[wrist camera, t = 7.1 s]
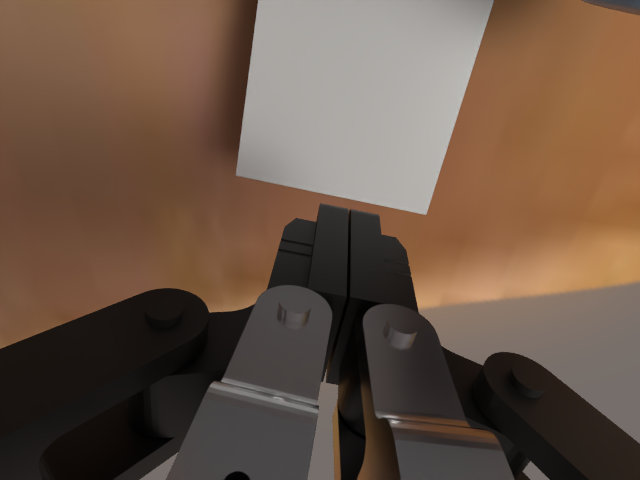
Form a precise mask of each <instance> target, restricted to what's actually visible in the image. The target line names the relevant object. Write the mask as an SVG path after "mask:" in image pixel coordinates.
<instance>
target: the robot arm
mask: <svg viewBox="0 0 640 480" xmlns="http://www.w3.org/2000/svg"><path fill="white" fill-rule="evenodd" d="M348 212H349V214H348ZM408 264H409V262H408V257H407V252H406V249H405V248H404V247H403V246H402V245H401V243H400V242H399V241H398V240H397V238H396V237H390V236H385V235H381V227H380V218H379V215H377V214H372V213H367V212H362V211H357V210H352V209H350V211H349V210H348V209H347V208H342V207H336V206H331V205H326V204H321V203H320V206H319V211H318V216H317V221H316V222H313V221H308V220H303V219H298V218H296V219H294V220H293V221H292V222H290V223H289V224H288V225H286V226H285V228H284V231H283V235H282V238H281V242H280V245H279V249H278V252H277V256H276V259H275V263H274V267H273V270H272V274H271V277H270V281H269V284H268V288H267V290H266V291H265V292H263V293H262V294H261V295H260V296H259V297H258V299H257V301H256V303H255V304H254V305H252V306H250V307H248V308H245V309H242V310H237V311H230V312H212V313H209V311H208V308H207V306H206V304H205V303H204V302H203V301H202V299H200V298H199V297H198V296H196V295H194V294H192V293H190V292H188V291H184V290H180V289H173V288H163V289H155V290H150V291H147V292H144V293H141V294H139V295H136V296H133V297H131V298H128V299H126V300H123V301H121V302H118V303H116V304H113V305H111V306H108V307H105V308H103V309H100V310H98V311H95V312H93V313H90V314H88V315H85V316H83V317H80V318H78V319H75V320H72V321H70V322H67V323H65V324H62V325H60V326H57V327H55V328H52V329H50V330H47V331H44V332H42V333H39V334H37V335H34V336H32V337H29V338H27V339H24V340H22V341H19V342H17V343H14V344H11V345H9V346H6V347H4V348H1V349H0V480H139V479H141V478H142V477H143V476H145V475H146V474H148V473H149V472H151V471H152V470H153V469H155V468H156V467H157V466H159V465H160V464H162V463H163V462H165V461H166V460H167V459H169V458H170V457H172V456H173V455H175V454H176V453H177V452H178V454H177V457H176V459H175V461H174V463H173V465H172V468H171V470H170V472H169V474H168V476H167V478H166V480H307V478H308V472H309V466H310V460H311V455H312V448H313V442H314V437H315V431H316V424H317V418H318V411H319V406H318V405H317V402H318V396H319V390H320V384H321V382H323V380H324V376H325V372H326V369H327V374H326V383H331V384H336V385H338V386H339V387H338V400H337V403H336V406H335V409H334V412H333V419H332V423H333V452H334V480H530V479H529V478H528V477H527V476H526V475H525V474H524V473H523V472H522V471H523V470H524V468H525V467H526V466H527V465H528V463H529V462H530V461H532V463H534V464H535V466H537V467H538V468H539V469H540V470H541V471H542V472H543V473H544V474H545V475H546V476H547V477H548V478H549V479H550V480H640V444H639V443H638V442H637V441H636V440H634V439H633V438H632V437H631V436H629V435H628V434H627V433H626V432H624V431H623V430H622V429H621V428H619V427H618V426H617V425H616V424H614V423H613V422H612V421H611V420H609V419H608V418H607V417H606V416H604V415H603V414H602V413H601V412H599V411H598V410H597V409H595V408H594V407H593V406H592V405H591V404H589V403H588V402H587V401H586V400H584V399H583V398H582V397H581V396H579V395H578V394H577V393H575V392H574V391H573V390H572V389H570V388H569V387H568V386H567V385H566V384H564V383H563V382H562V381H561V380H559V379H558V378H557V377H556V376H554V375H553V374H552V373H551V372H549V371H548V370H547V369H545V368H544V367H543V366H541V365H540V364H538V363H536V362H535V361H533V360H531V359H529V358H527V357H524V356H522V355H519V354H515V353H509V352H499V353H495V354H492V355H491V356H489V357H488V358H487V360H486V361H485V363H484V365H483V366H482V365H480V364H478V363H476V362H473V361H471V360H469V359H466V358H464V357H462V356H459V355H457V354H455V353H453V352H451V351H449V350H447V349H445V348H444V347H442V346H441V344H440V341H439V338H438V335H437V333H436V331H435V329H434V327H433V326H432V325H431V323H430V322H429V321H428V320H427V319H425V318H424V317H423V316H422V315H420V314H419V312H418V307H417V302H416V297H415V292H414V287H413V282H412V277H410V276H411V272H410V267H409V266H408Z"/></svg>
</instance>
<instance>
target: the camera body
mask: <svg viewBox="0 0 640 480" xmlns="http://www.w3.org/2000/svg"><path fill="white" fill-rule="evenodd" d="M582 1H584V2H587V3H590V4H593V5H597V6H600V7H604V8H608V9H613V10H617V11H622V12H626V13H631V14H636V15H640V0H582Z"/></svg>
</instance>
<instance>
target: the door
mask: <svg viewBox="0 0 640 480" xmlns="http://www.w3.org/2000/svg"><path fill="white" fill-rule="evenodd" d="M493 2H494V0H258V6H257V13H256V21H255V29H254V37H253V45H252V53H251V60H250V68H249V76H248V84H247V92H246V100H245V107H244V115H243V123H242V131H241V139H240V146H239V154H238V162H237V170H236V176H241V177H246V178H251V179H255V180H260V181H265V182H270V183H275V184H280V185H284V186H289V187H294V188H299V189H304V190H308V191H313V192H318V193H323V194H328V195H333V196H337V197H342V198H347V199H352V200H357V201H362V202H366V203H371V204H376V205H381V206H386V207H391V208H395V209H400V210H405V211H410V212H415V213H420V214H424V215H426V214H427V210H428V207H429V204H430V201H431V198H432V195H433V192H434V188H435V185H436V182H437V179H438V176H439V173H440V169H441V166H442V163H443V160H444V157H445V154H446V151H447V147H448V144H449V141H450V138H451V135H452V132H453V128H454V125H455V122H456V119H457V116H458V113H459V109H460V106H461V103H462V100H463V97H464V94H465V91H466V87H467V84H468V81H469V78H470V75H471V72H472V68H473V65H474V62H475V59H476V56H477V53H478V49H479V46H480V43H481V40H482V37H483V34H484V31H485V27H486V24H487V21H488V18H489V15H490V12H491V8H492V5H493Z"/></svg>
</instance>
